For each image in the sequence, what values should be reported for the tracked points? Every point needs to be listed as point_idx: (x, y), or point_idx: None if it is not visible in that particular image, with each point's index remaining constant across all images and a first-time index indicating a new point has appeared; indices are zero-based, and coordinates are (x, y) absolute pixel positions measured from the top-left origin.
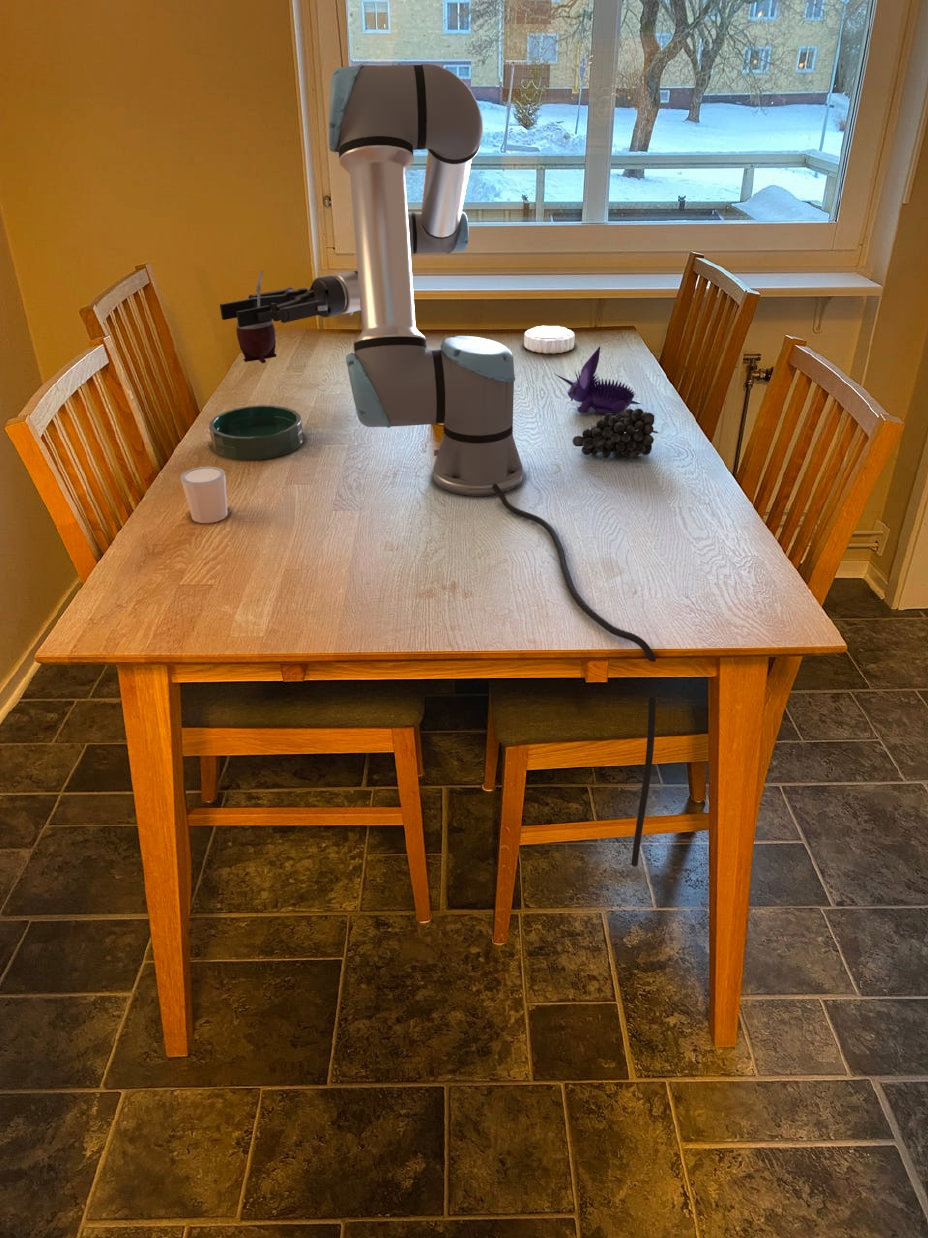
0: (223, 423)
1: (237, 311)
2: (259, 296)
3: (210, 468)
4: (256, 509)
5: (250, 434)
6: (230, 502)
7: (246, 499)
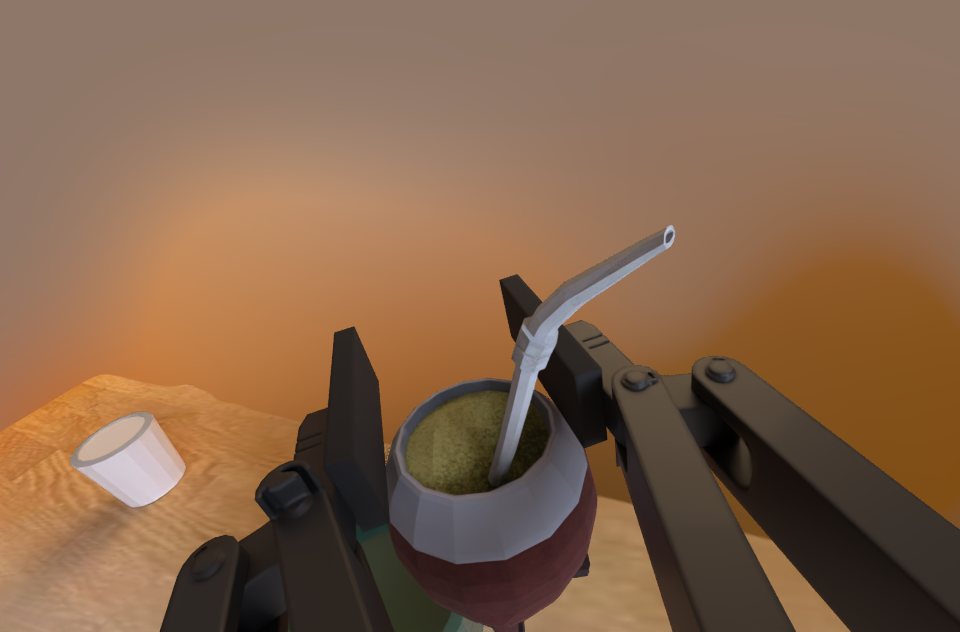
0: None
1: (352, 330)
2: (512, 390)
3: (121, 447)
4: (92, 555)
5: (411, 590)
6: (159, 515)
7: (140, 542)
